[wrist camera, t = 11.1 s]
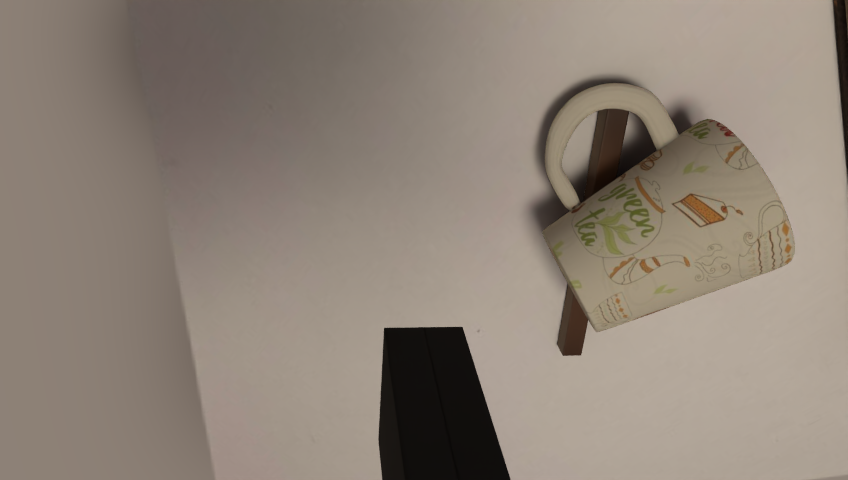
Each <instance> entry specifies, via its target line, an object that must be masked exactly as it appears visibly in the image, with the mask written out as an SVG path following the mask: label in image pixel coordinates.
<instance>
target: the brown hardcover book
mask: <svg viewBox="0 0 848 480" xmlns="http://www.w3.org/2000/svg"><path fill="white" fill-rule="evenodd" d="M834 9H835V21H836V34H837V46H838V58H839V70H840V82H841V94H842V107H843V119H844V131H845V143H846V155H847V167H848V0H834Z"/></svg>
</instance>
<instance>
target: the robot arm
mask: <svg viewBox="0 0 848 480" xmlns="http://www.w3.org/2000/svg"><path fill="white" fill-rule="evenodd" d="M379 450H380V460H381V470H382V480H510V477H509V473H508V470H507V467H506V464H505V461H504V457H503V454H502V451H501V448H500V445H499V442H498V438H497V435H496V432H495V429H494V426H493V423H492V419H491V416H490V413H489V410H488V407H487V404H486V400H485V397H484V394H483V391H482V388H481V384H480V381H479V378H478V375H477V372H476V369H475V365H474V362H473V359H472V356H471V353H470V350H469V346H468V343H467V340H466V337H465V334H464V331H463V327H419V328H384V343H383V363H382V382H381V402H380V421H379Z"/></svg>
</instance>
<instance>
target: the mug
mask: <svg viewBox="0 0 848 480" xmlns="http://www.w3.org/2000/svg"><path fill="white" fill-rule="evenodd" d="M603 109H621V110H626V111H629V112H632V113H634V114H636V115H637V116H639V117H640V118H641V119H642V121H643V122H644V124H645V126H646V128H647V130H648V132H649V134H650V136H651V138H652V141H653V143H654V145H655V147H656V149H657V151H655V152H654V153H653V154H651V155H650V156H648V157H647V158H646V159H644V160H643V161H641V162H640V163H638V164H637V165H635V166H634V167H633V168H631V169H630V170H628V171H627V172H625V173H624V174H623V175H621V176H620V177H618V178H617V179H615V180H614V181H613V182H611V183H610V184H608V185H607V186H605V187H604V188H603V189H601V190H600V191H598V192H597V193H595V194H594V195H593V196H591V197H590V198H588V199H587V200H585V201H584V202H582V203H581V204H580V201H579V198H578V196H577V194H576V191H575V189H574V188H573V186H572V184H571V183H570V181H569V179H568V177H567V176H566V174H565V172H564V171H563V169H562V158H563V153H564V150H565V148H566V145H567V143H568V141H569V139H570V137H571V135H572V133H573V132H574V130H575V129H576V127H577V126H578V125H579V124H580V123H581V122H582V121H583V120H584V119H585V118H586V117H587V116H589V115H590V114H592V113H594V112H597V111H599V110H603ZM545 168H546V172H547V175H548V178H549V180H550V183H551V185H552V187H553V188H554V190H555V192H556V194H557V195H558V197H559V199H560V200H561V202H562V203H563V204H564V206H565V207H566V208H567V209H568V210H569V211H570V212H568V213H567V214H565V215H564V216H562V217H561V218H560V219H558V220H557V221H555V222H554V223H552V224H551V225H550V226H548V227H547V228H546V229H544V230H543V232H542V234H543V236H544V239H545V241H546V243H547V245H548V247H549V249H550V251H551V252H552V254H553V256H554V258H555V260H556V262H557V264H558V266H559V268H560V270H561V271H562V273H563V275H564V277H565V279H566V281H567V283H568V284H569V286H570V288H571V290H572V292H573V294H574V295H575V297H576V299H577V301H578V303H579V304H580V306H581V308H582V310H583V311H584V313H585V315H586V317H587V318H588V320H589V322H590V323H591V325H592V327H593V328H594V330H595V331H596V332H600V331H603V330H606V329H609V328H612V327H615V326H618V325H621V324H623V323H626V322H629V321H632V320H635V319H638V318H640V317H643V316H646V315H649V314H652V313H654V312H657V311H660V310H663V309H666V308H669V307H671V306H674V305H677V304H680V303H683V302H685V301H688V300H691V299H694V298H697V297H699V296H702V295H705V294H708V293H711V292H714V291H716V290H719V289H722V288H725V287H728V286H730V285H733V284H736V283H739V282H742V281H744V280H747V279H750V278H753V277H756V276H759V275H761V274H764V273H767V272H770V271H773V270H775V269H777V268H780V267H782V266H784V265H786V264H788V263H789V262H790V261H791V260H792V259H793V256H794V252H795V243H794V237H793V232H792V229H791V225H790V223H789V220H788V217H787V214H786V212H785V209H784V207H783V205H782V203H781V201H780V199H779V197H778V195H777V193H776V191H775V189H774V187H773V185H772V184H771V182H770V180H769V178H768V177H767V175H766V174H765V172H764V170H763V169H762V167H761V166H760V165H759V163H758V162H757V160H756V159H755V157H754V156H753V155H752V153H751V152H750V151H749V150H748V148H747V147H746V146H745V145H744V144H743V143H742V142H741V140H740V139H739V138H738V137H737V136H736V135H735V134H734V133H733V132H731V131H730V130H729V129H728V128H727V127H725V126H724V125H723V124H721V123H719V122H717V121H715V120H711V119H706V120H703V121H700V122H698V123H696V124H695V125H693V126H692V127H690V128H689V129H687V130H686V131H684V132H683V133H681V134H680V135H679V134H678V132H677V130H676V128H675V126H674V124H673V122H672V120H671V118H670V116H669V115H668V113H667V111H666V109H665V108H664V106H663V105H662V103H661V102H660V100H659V99H658V98H657V97H656V96H655V95H654V94H653V93H651V92H650V91H648V90H646V89H644V88H641V87H638V86H634V85H629V84H622V83H607V84H601V85H597V86H594V87H590V88H588V89H586V90H584V91H581V92H580V93H578V94H577V95H575V96H573V97H572V98H571V99H570V100H569V101H568V102H567V103H566V104H565V105H564V106H563V107H562V108H561V109H560V111H559V112H558V114H557V115H556V117H555V119H554V120H553V122H552V124H551V127H550V130H549V132H548V137H547V142H546V149H545Z"/></svg>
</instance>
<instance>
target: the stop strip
mask: <svg viewBox="0 0 848 480" xmlns="http://www.w3.org/2000/svg"><path fill="white" fill-rule="evenodd" d="M628 115H629V111H626V110H621V109H603V110H599V113H598V119H597V125H596V130H595V136H594V141H593V147H592V153H591V158H590V164H589V170H588V175H587V181H586V186H585V192H584V198H583V202H584V201H585V200H587V199H588V198H590V197H591V196H593V195H594V194H595V193H597V192H598V191H600V190H601V189H603V188H604V187H605V186H607V185H608V184H610V183H611V182H613V181H614V180H615V179H616V176H617V170H618V165H619V160H620V155H621V150H622V145H623V140H624V135H625V130H626V125H627V120H628ZM587 323H588V318H587V317H586V315H585V313H584V311H583V310H582V308H581V306H580V304H579V303H578V301H577V299H576V297H575V295H574V294H573V292H572V290H571V288H570V286H569V284H568V288H567V293H566V299H565V305H564V310H563V316H562V321H561V327H560V333H559V338H558V344H557V345H558V347H559V349H560V351H561V353H562V355H563V356H569V355H581V353H582V348H583V343H584V338H585V333H586V328H587Z"/></svg>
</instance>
